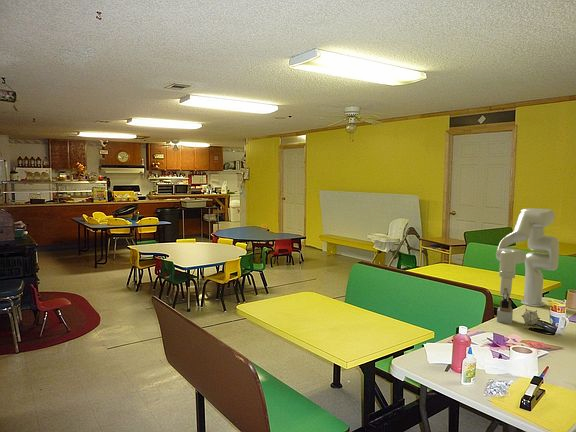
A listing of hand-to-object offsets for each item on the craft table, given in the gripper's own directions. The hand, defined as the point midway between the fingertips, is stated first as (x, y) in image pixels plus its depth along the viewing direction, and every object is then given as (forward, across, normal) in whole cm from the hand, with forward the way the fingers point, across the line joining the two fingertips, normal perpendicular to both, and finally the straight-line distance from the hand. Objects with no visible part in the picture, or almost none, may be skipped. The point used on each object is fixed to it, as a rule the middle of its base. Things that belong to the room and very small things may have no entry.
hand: (505, 305), depth 225 cm
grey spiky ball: (+9, 0, +12) cm, 15 cm away
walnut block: (+2, 0, 0) cm, 3 cm away
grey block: (+8, 0, 0) cm, 9 cm away
